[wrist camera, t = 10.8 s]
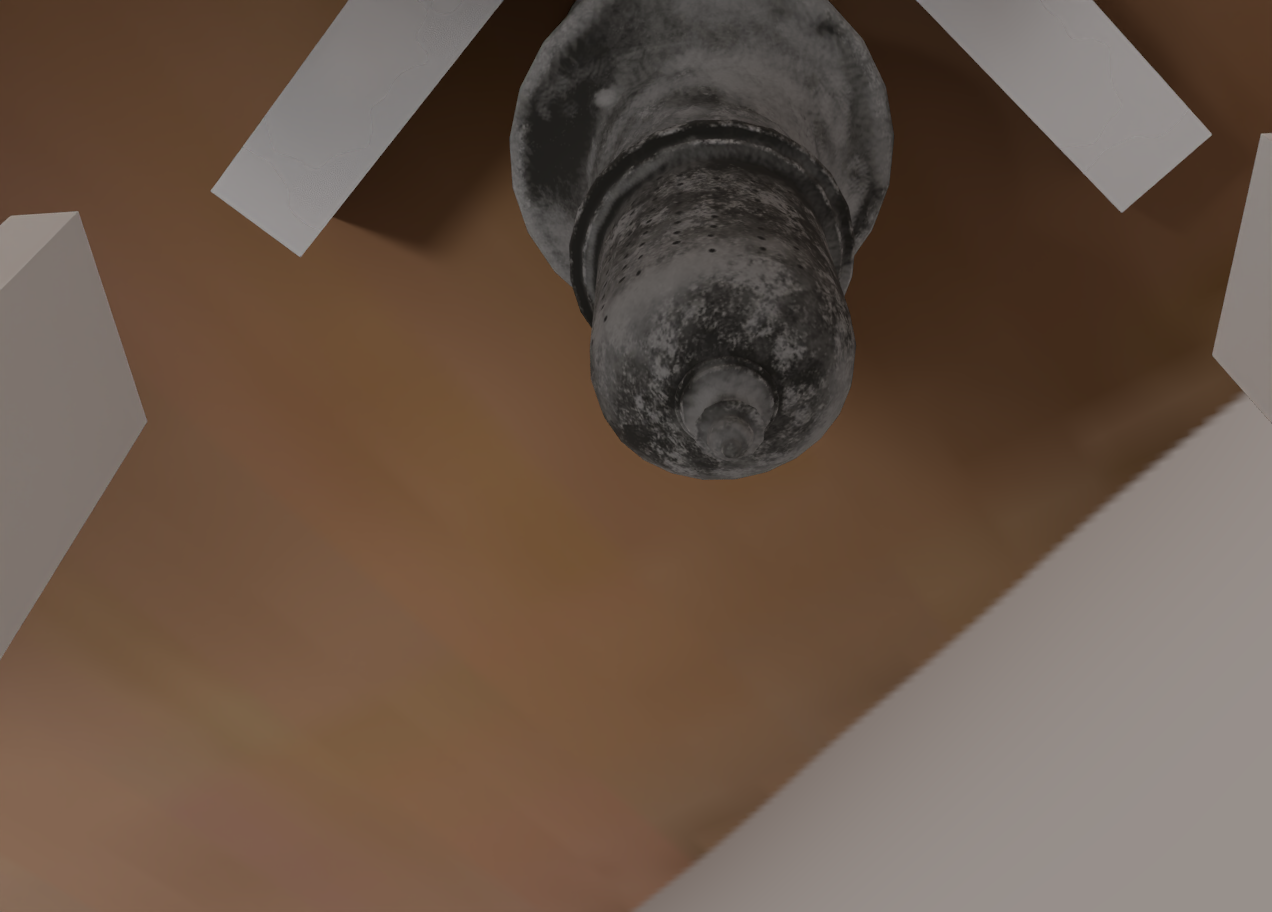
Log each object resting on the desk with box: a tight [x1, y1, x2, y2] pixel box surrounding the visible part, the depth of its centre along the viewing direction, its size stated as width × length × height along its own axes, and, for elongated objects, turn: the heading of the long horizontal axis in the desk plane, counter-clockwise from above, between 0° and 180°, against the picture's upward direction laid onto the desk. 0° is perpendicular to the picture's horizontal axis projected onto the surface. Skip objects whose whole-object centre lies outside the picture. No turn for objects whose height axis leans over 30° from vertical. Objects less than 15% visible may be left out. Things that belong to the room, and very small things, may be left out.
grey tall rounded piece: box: [510, 0, 894, 480], centre depth 17 cm, size 6×6×12 cm
